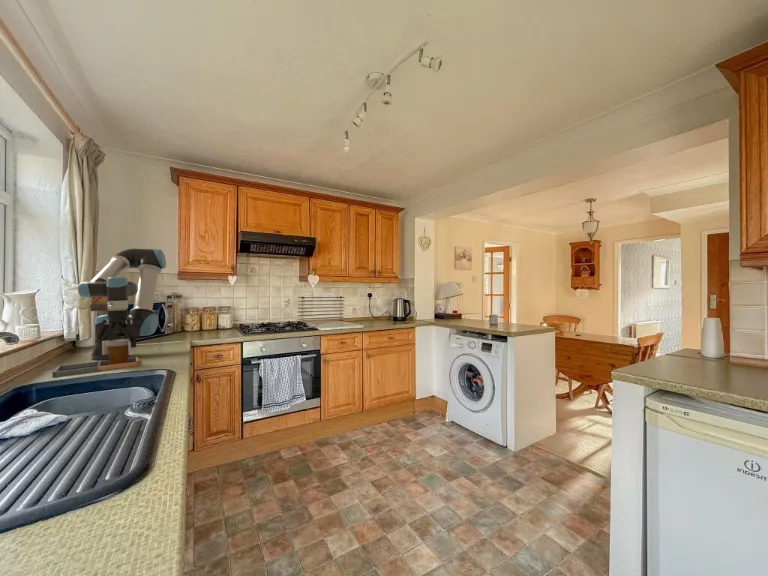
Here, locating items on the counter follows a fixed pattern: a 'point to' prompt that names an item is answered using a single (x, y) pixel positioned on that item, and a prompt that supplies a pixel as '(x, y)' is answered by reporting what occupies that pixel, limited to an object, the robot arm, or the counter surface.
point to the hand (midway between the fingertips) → (118, 354)
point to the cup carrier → (97, 363)
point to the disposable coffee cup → (118, 351)
